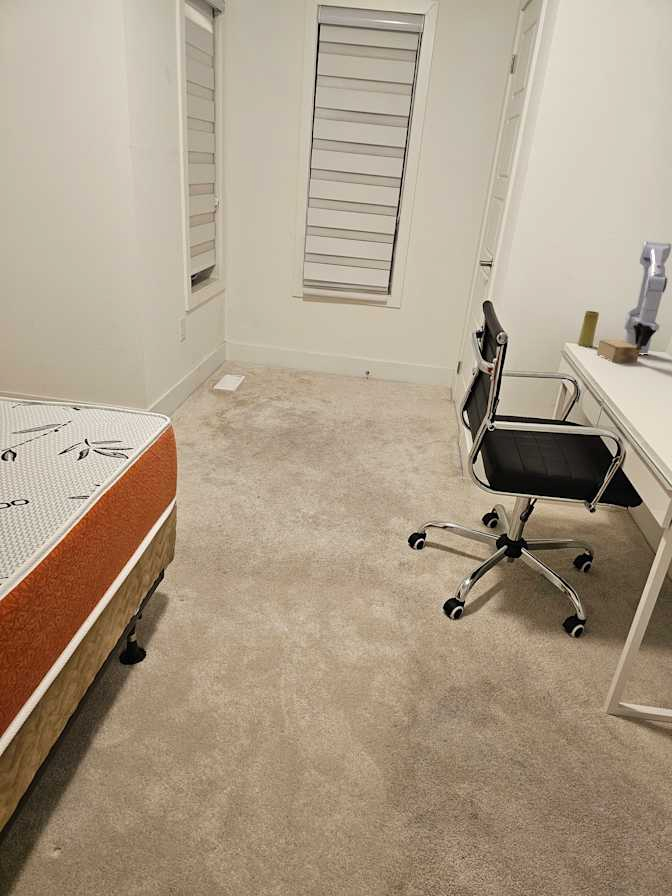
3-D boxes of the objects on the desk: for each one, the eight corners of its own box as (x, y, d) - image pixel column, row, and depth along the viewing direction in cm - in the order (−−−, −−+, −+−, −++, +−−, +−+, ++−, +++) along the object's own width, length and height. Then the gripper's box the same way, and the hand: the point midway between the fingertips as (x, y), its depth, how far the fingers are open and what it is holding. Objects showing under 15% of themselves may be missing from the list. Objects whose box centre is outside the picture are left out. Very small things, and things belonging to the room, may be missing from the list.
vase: (595, 347, 260) (603, 313, 254) (583, 347, 258) (591, 313, 253) (586, 343, 265) (593, 310, 260) (574, 343, 264) (581, 310, 258)
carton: (618, 355, 248) (622, 340, 246) (635, 362, 238) (638, 347, 236) (596, 354, 247) (599, 340, 244) (611, 361, 237) (615, 346, 234)
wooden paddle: (635, 361, 238) (642, 334, 234) (639, 363, 236) (646, 335, 232) (612, 361, 236) (619, 334, 232) (615, 362, 234) (622, 335, 230)
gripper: (629, 305, 234) (620, 340, 240) (650, 312, 221) (640, 349, 226) (646, 306, 235) (637, 340, 240) (668, 313, 222) (658, 349, 227)
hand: (640, 344), depth 233 cm, fingers open, 3 cm apart
